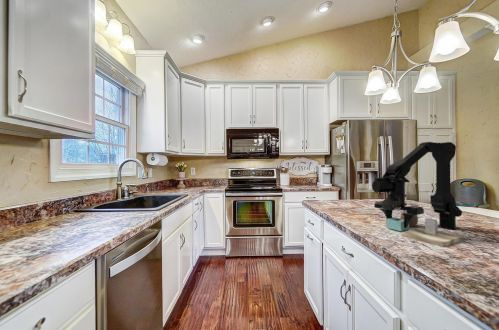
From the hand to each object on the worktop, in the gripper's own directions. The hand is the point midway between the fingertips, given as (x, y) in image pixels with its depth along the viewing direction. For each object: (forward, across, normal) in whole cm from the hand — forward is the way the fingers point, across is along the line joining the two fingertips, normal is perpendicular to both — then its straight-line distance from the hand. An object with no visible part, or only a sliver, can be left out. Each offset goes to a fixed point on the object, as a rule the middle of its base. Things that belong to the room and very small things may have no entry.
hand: (397, 226), depth 100 cm
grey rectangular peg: (0, +13, 0) cm, 13 cm away
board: (+2, +13, 0) cm, 13 cm away
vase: (+2, -1, +11) cm, 11 cm away
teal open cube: (+1, 0, 0) cm, 1 cm away
